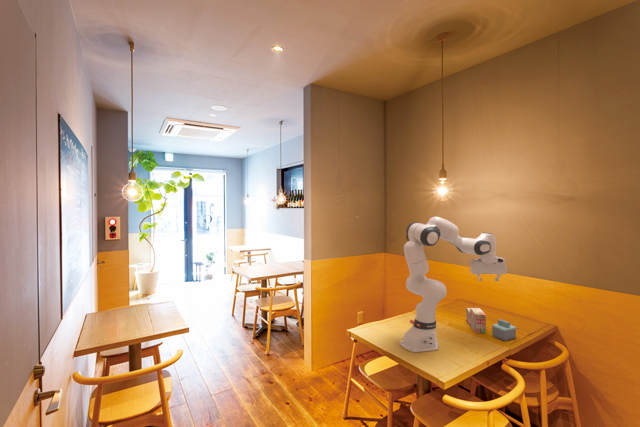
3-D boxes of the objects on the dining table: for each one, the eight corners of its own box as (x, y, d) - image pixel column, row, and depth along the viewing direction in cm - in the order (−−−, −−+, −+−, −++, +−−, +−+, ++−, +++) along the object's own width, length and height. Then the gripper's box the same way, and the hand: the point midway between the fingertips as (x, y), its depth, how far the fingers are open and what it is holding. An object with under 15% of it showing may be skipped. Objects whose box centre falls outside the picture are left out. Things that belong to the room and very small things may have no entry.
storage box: (504, 341, 186) (504, 331, 186) (492, 336, 193) (492, 326, 193) (515, 338, 189) (515, 328, 189) (503, 333, 197) (503, 324, 197)
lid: (504, 333, 185) (504, 324, 185) (491, 328, 193) (491, 320, 193) (516, 330, 189) (516, 322, 189) (503, 325, 197) (503, 317, 197)
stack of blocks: (466, 320, 219) (466, 303, 219) (475, 321, 218) (475, 303, 218) (475, 333, 198) (475, 313, 198) (486, 333, 197) (486, 314, 197)
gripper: (471, 259, 190) (471, 282, 191) (508, 259, 186) (508, 282, 187) (468, 257, 196) (468, 279, 197) (504, 257, 192) (504, 279, 193)
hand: (488, 281), depth 192 cm, fingers open, 8 cm apart
